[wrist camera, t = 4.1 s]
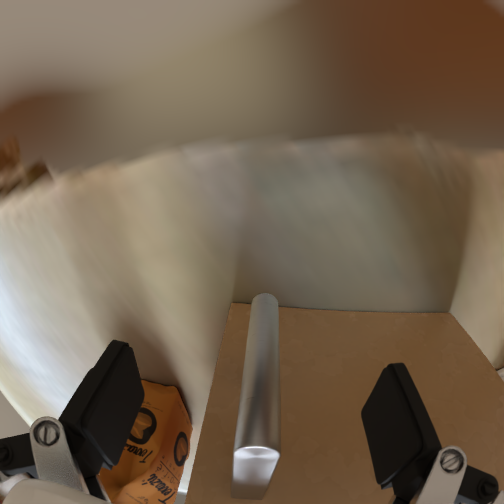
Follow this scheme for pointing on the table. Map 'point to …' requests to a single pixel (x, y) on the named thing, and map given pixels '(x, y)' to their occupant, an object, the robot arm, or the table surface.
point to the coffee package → (152, 451)
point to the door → (333, 402)
